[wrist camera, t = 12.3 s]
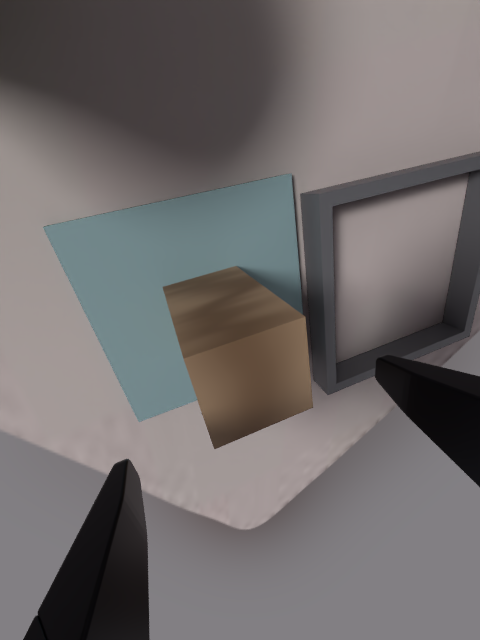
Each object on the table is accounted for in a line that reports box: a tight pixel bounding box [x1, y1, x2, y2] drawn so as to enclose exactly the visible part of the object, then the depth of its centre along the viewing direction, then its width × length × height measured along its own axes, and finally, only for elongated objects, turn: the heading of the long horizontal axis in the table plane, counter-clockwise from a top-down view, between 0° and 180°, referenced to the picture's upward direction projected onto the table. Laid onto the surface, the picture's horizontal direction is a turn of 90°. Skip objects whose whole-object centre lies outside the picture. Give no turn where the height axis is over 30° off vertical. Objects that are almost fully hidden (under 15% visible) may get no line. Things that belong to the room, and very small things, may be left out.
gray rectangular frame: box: [300, 152, 480, 395], centre depth 21 cm, size 17×15×3 cm
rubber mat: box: [43, 174, 303, 422], centre depth 18 cm, size 13×13×1 cm
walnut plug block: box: [163, 266, 313, 449], centre depth 14 cm, size 4×4×8 cm
